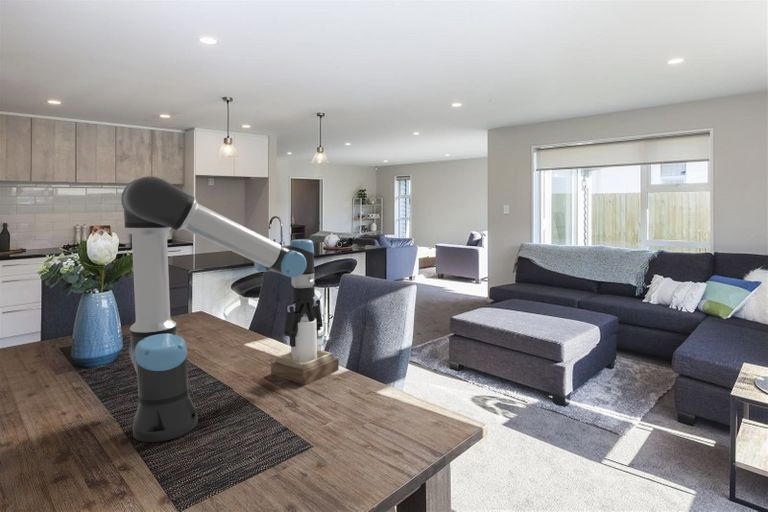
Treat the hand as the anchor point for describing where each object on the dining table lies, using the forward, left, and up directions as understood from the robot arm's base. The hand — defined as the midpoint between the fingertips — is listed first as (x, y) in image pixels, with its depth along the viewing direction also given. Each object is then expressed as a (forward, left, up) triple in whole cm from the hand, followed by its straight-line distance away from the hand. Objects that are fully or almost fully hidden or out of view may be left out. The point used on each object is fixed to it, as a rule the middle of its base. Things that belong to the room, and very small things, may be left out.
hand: (304, 351), depth 151 cm
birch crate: (0, 0, -7) cm, 7 cm away
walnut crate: (0, 0, -8) cm, 8 cm away
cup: (0, 0, -5) cm, 5 cm away
